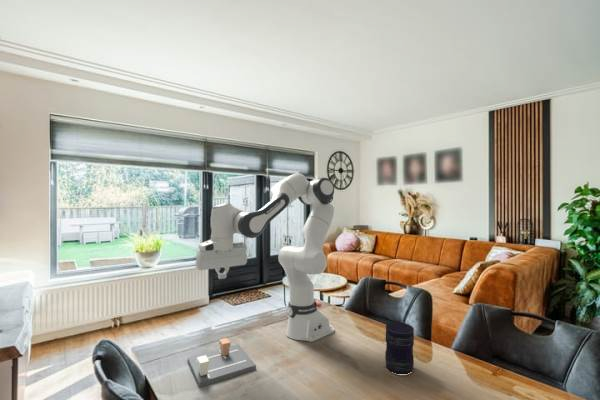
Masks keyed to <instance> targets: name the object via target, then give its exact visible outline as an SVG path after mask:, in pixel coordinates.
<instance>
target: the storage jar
mask: <svg viewBox="0 0 600 400" xmlns="http://www.w3.org/2000/svg"><path fill="white" fill-rule="evenodd" d="M414 332H415V329H414V327H413V326H412V325H410V324H408V323H406V322H401V321H390V322H388V323H386V325H385V339H384V340H385V342H386V343H385V344H386V345H385V346H386V348H385V353H384V355H385V356H384V359H385V365H386V366H385V369H386V368H387V369H388V370H389V371H390V372H389V371H388V370H387V369H386V370H387V371H388V372H389V373H391V372H393V373H396V374H408V373H410V372H412V370H413V371H414V363H415V362H414V354H413V353H414V352H413V351H414V344H415V342H414V341H415V336H414V335H415V333H414ZM393 373H392V374H393Z"/></svg>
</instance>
